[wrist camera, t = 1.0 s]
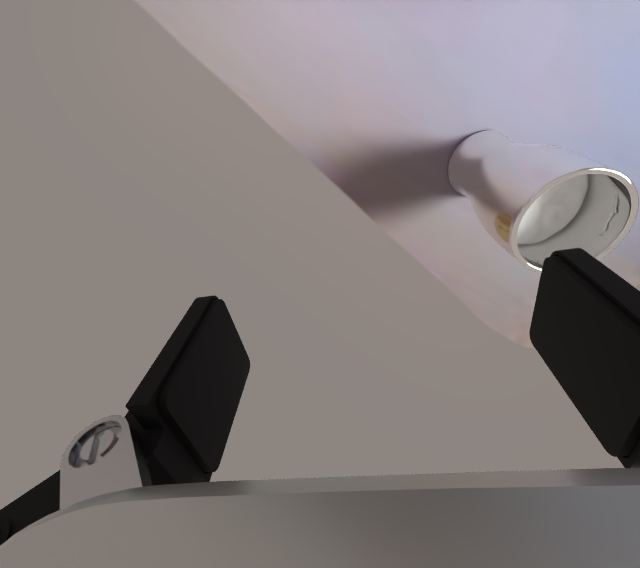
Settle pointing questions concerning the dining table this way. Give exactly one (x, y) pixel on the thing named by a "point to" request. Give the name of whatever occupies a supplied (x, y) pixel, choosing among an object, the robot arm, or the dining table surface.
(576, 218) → the beer glass
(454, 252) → the dining table surface
